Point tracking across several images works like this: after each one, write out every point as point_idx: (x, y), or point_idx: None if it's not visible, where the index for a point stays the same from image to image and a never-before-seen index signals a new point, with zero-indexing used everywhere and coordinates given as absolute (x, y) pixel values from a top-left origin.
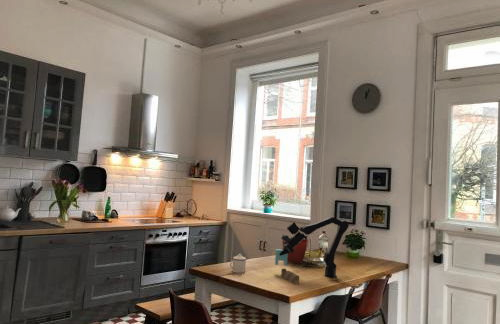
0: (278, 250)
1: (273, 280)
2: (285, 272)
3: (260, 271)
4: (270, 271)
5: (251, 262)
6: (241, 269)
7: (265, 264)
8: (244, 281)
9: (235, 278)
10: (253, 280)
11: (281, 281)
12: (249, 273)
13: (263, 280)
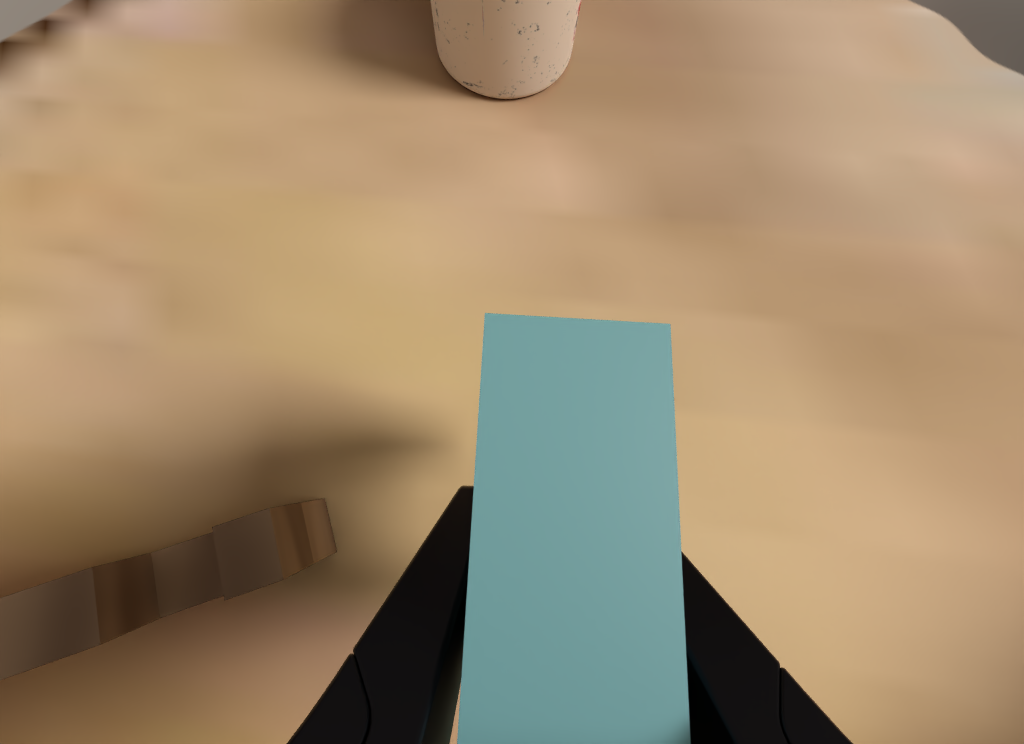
0: (477, 442)
1: (102, 369)
2: (119, 561)
3: (561, 260)
4: None
5: (1020, 200)
6: (437, 28)
7: (992, 358)
8: (68, 70)
9: (194, 5)
10: (108, 153)
11: (44, 469)
12: (432, 138)
13: (105, 253)
